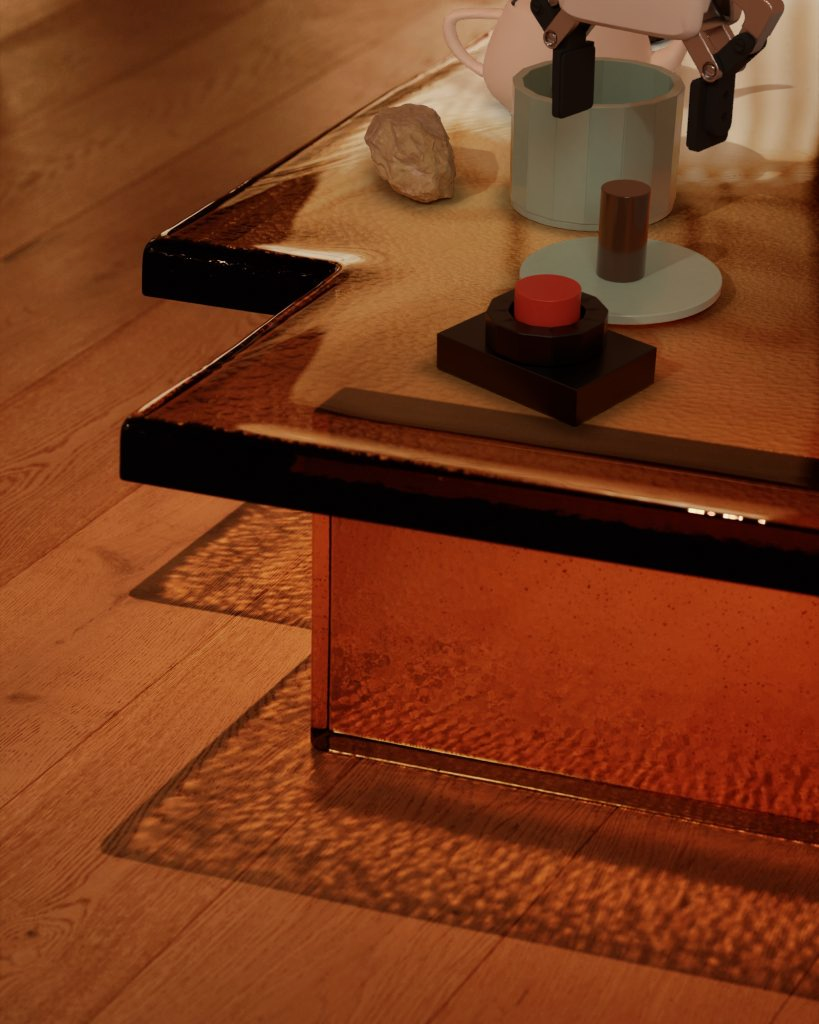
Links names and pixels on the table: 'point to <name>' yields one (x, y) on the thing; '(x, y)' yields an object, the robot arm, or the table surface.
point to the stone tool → (412, 151)
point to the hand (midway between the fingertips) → (637, 128)
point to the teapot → (542, 46)
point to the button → (547, 300)
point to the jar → (594, 142)
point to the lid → (631, 263)
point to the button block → (548, 360)
